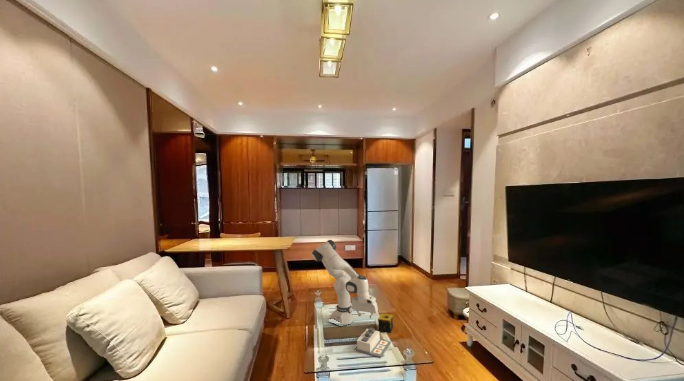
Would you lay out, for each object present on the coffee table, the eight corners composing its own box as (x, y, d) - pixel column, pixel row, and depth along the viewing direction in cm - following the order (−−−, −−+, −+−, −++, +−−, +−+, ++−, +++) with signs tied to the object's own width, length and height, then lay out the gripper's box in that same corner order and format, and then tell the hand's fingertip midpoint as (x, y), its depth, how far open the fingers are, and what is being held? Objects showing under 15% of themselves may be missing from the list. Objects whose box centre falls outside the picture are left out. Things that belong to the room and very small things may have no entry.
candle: (378, 331, 201) (377, 319, 201) (381, 325, 210) (380, 313, 211) (391, 333, 197) (390, 320, 197) (393, 327, 207) (392, 314, 207)
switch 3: (365, 342, 183) (364, 333, 183) (367, 339, 186) (366, 331, 186) (370, 343, 181) (369, 334, 181) (372, 340, 184) (371, 332, 184)
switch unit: (354, 350, 179) (353, 340, 179) (365, 336, 195) (365, 327, 195) (380, 358, 169) (380, 347, 169) (390, 342, 185) (390, 333, 185)
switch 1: (362, 348, 178) (361, 339, 178) (364, 345, 181) (363, 336, 181) (366, 349, 176) (366, 340, 176) (369, 346, 179) (368, 338, 179)
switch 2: (368, 338, 188) (368, 329, 188) (370, 335, 191) (370, 327, 191) (373, 339, 186) (372, 330, 186) (375, 336, 189) (374, 328, 189)
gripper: (349, 298, 194) (351, 316, 193) (374, 301, 183) (376, 321, 183) (353, 295, 199) (355, 313, 199) (377, 298, 189) (379, 317, 188)
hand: (365, 317), depth 191 cm, fingers open, 8 cm apart
